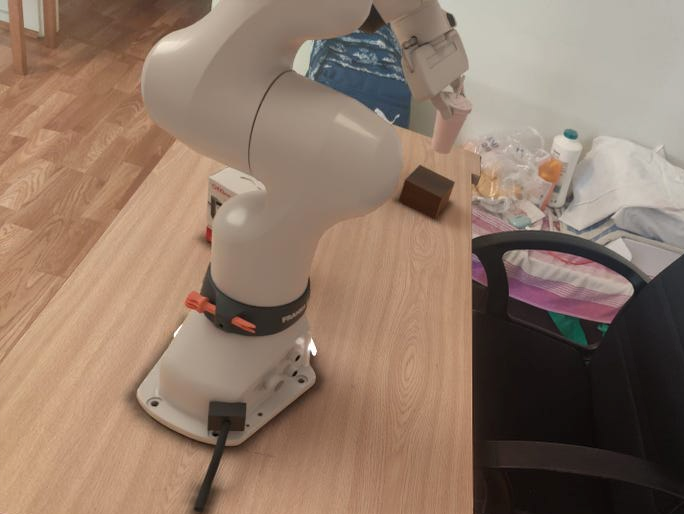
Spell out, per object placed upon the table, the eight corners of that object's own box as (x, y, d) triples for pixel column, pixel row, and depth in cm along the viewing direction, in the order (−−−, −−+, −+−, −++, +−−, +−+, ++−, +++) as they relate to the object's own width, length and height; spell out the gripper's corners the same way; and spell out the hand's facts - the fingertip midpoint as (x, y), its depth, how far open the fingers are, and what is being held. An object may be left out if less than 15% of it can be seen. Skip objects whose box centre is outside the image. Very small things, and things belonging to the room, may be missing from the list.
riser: (434, 219, 120) (441, 197, 116) (398, 201, 120) (404, 179, 116) (447, 202, 126) (455, 182, 122) (413, 185, 125) (419, 164, 122)
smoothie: (458, 147, 117) (482, 77, 108) (454, 162, 113) (479, 90, 103) (427, 135, 116) (448, 63, 107) (421, 149, 112) (443, 76, 102)
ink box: (203, 239, 94) (205, 174, 86) (225, 227, 97) (229, 163, 89) (249, 267, 93) (255, 203, 85) (270, 254, 97) (277, 192, 89)
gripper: (414, 36, 93) (452, 123, 100) (457, 13, 108) (487, 89, 115) (382, 52, 96) (420, 135, 103) (428, 27, 111) (459, 101, 118)
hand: (456, 111), depth 109 cm, fingers closed on smoothie, 6 cm apart
